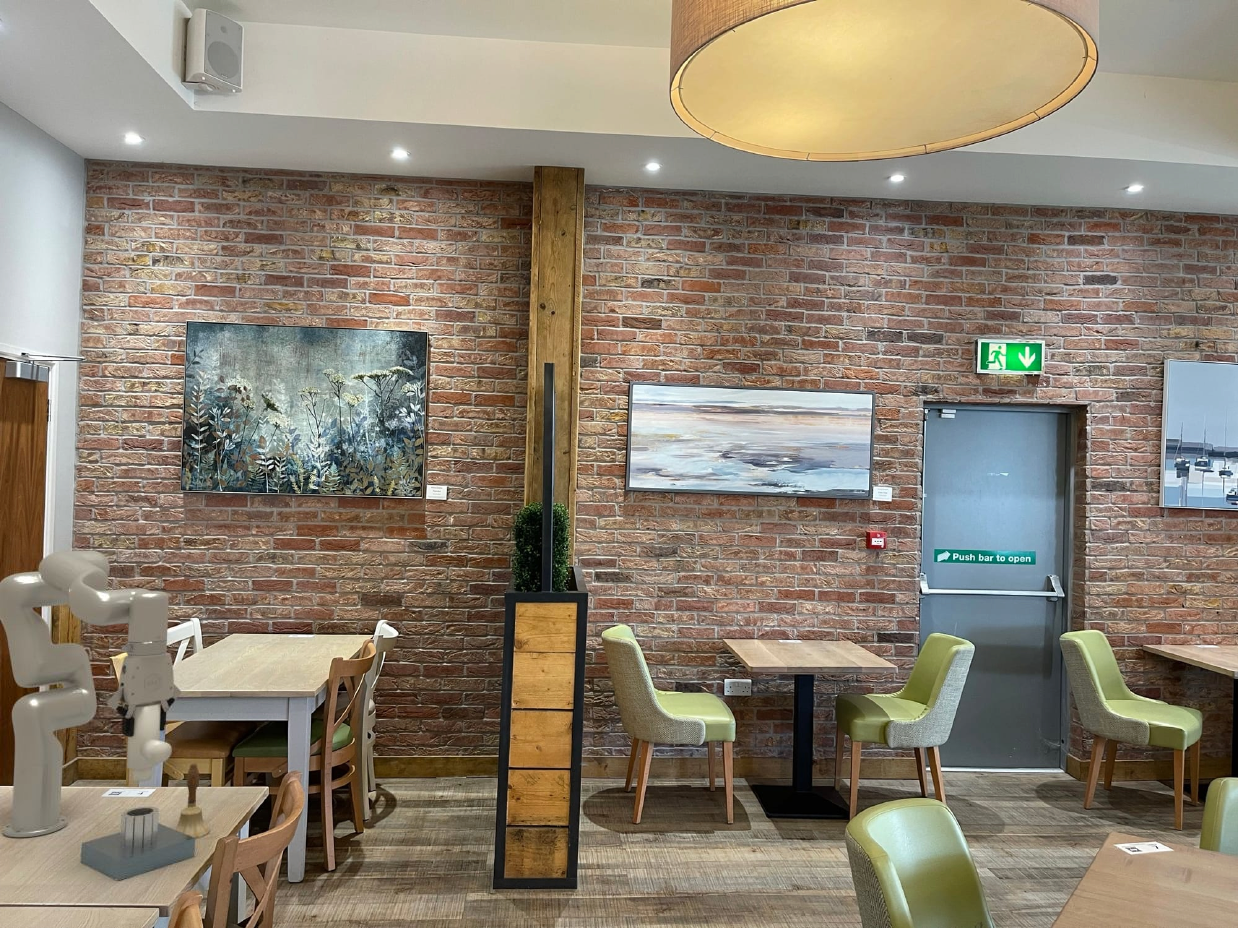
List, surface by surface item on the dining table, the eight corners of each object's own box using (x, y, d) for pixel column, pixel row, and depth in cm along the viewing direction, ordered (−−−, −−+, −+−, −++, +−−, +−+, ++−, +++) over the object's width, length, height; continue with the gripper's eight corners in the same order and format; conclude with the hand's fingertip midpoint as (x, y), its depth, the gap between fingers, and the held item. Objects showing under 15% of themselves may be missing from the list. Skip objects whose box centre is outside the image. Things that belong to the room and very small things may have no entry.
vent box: (80, 861, 189) (83, 814, 190) (155, 839, 202) (157, 795, 203) (118, 880, 180) (120, 830, 181) (194, 856, 193) (196, 809, 194)
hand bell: (217, 829, 210) (220, 761, 210) (190, 841, 202) (193, 770, 203) (190, 825, 212) (192, 757, 213) (161, 837, 204) (164, 766, 205)
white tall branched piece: (120, 780, 191) (124, 704, 192) (148, 773, 196) (151, 700, 197) (146, 789, 185) (149, 711, 186) (174, 782, 190) (178, 706, 191)
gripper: (114, 655, 184) (111, 743, 183) (194, 645, 199) (191, 727, 198) (97, 651, 189) (93, 737, 188) (176, 642, 203) (173, 722, 202)
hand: (143, 731), depth 193 cm, fingers closed on white tall branched piece, 6 cm apart
